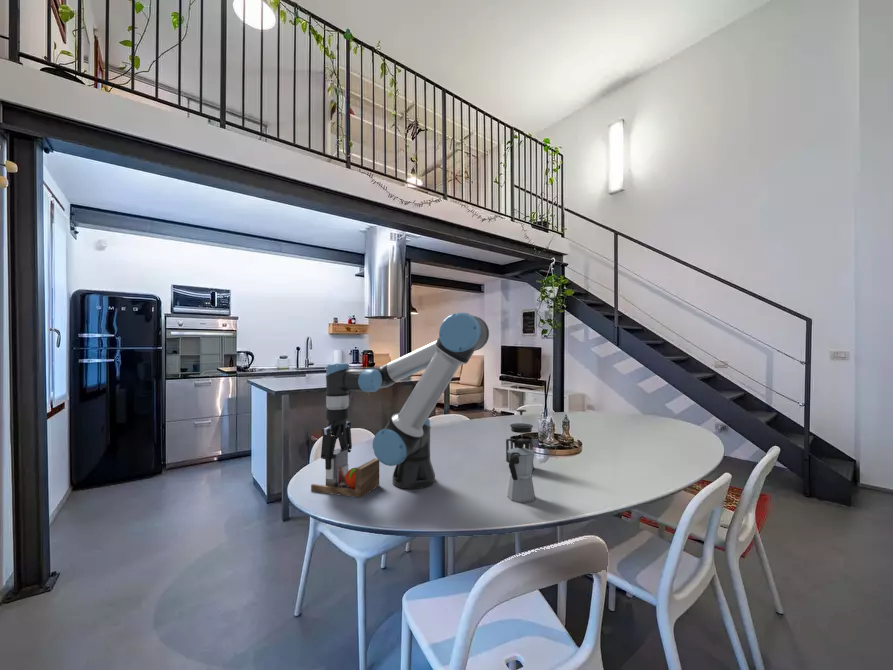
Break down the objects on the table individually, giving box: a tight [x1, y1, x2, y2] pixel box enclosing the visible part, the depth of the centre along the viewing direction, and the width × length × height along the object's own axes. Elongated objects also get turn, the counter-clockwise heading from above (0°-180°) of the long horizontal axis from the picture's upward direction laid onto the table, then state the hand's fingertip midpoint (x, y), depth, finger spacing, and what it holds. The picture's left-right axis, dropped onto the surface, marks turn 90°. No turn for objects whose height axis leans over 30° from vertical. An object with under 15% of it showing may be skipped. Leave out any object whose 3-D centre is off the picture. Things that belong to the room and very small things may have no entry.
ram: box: [325, 447, 349, 488], centre depth 131 cm, size 5×7×12 cm, turn 161°
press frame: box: [310, 458, 380, 498], centre depth 130 cm, size 19×12×9 cm, turn 71°
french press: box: [505, 409, 535, 472], centre depth 151 cm, size 12×9×23 cm
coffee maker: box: [506, 439, 536, 504], centre depth 120 cm, size 15×9×18 cm, turn 149°
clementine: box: [345, 467, 357, 489], centre depth 129 cm, size 8×7×7 cm
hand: (336, 474), depth 131 cm, fingers open, 7 cm apart
